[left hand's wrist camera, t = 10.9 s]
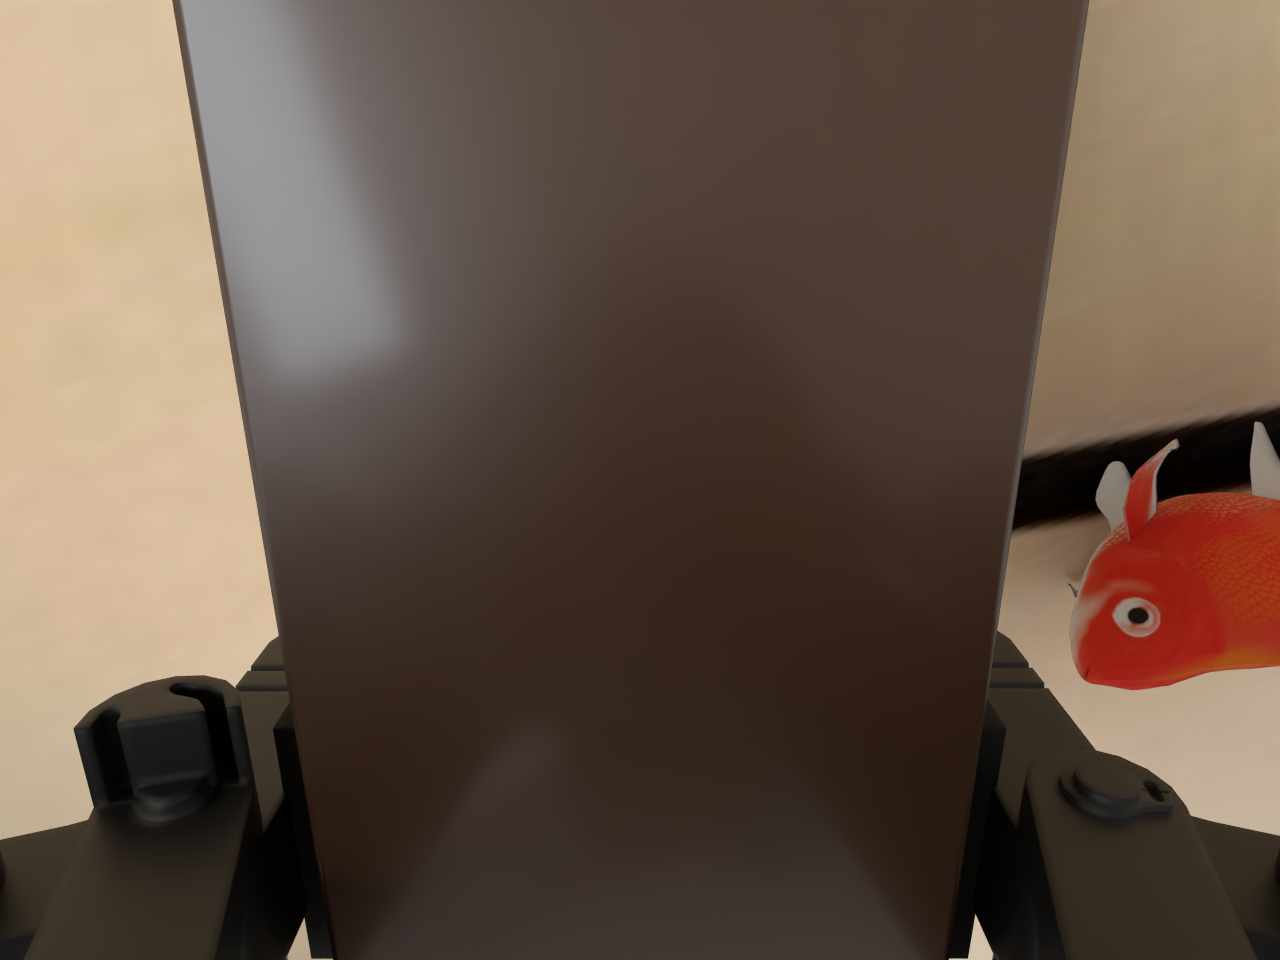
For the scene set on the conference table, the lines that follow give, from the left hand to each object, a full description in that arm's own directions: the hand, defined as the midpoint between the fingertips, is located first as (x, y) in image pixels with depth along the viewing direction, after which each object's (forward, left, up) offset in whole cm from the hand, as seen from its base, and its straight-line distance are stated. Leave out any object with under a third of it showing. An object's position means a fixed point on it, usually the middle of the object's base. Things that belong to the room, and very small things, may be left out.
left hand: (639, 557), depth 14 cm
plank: (+10, +5, 0) cm, 11 cm away
